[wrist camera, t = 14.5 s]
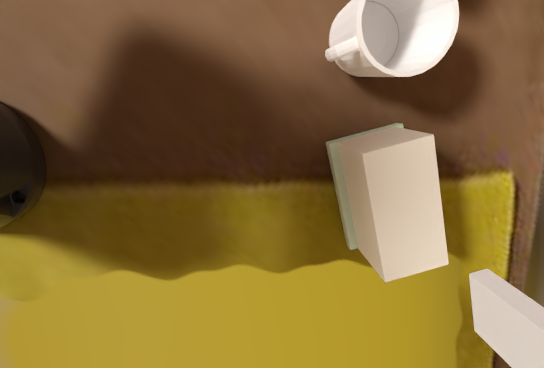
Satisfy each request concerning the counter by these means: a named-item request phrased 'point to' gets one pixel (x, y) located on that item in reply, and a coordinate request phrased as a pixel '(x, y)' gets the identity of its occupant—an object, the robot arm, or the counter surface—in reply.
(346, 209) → the header block
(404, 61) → the mug
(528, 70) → the counter surface
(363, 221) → the white rectangular block
